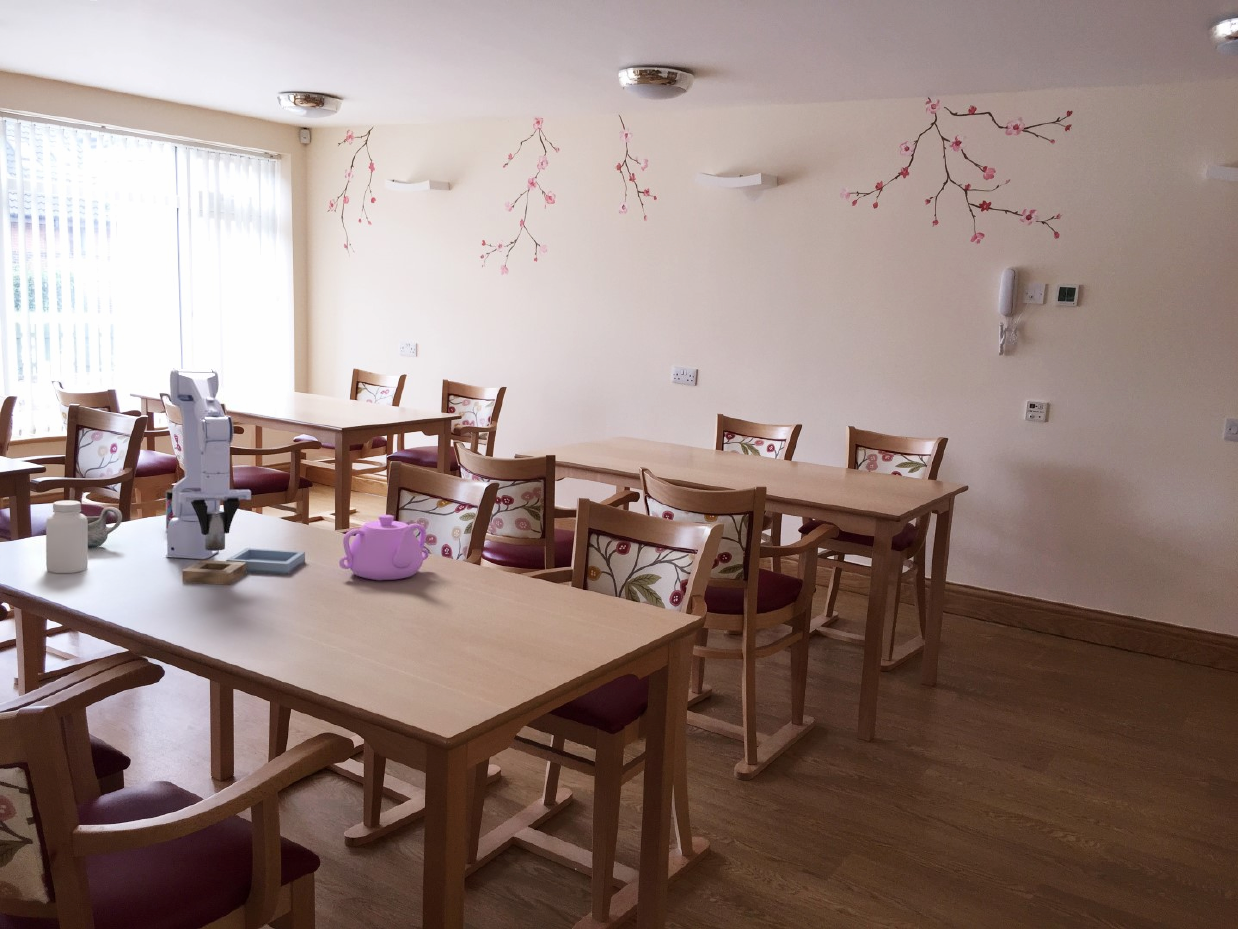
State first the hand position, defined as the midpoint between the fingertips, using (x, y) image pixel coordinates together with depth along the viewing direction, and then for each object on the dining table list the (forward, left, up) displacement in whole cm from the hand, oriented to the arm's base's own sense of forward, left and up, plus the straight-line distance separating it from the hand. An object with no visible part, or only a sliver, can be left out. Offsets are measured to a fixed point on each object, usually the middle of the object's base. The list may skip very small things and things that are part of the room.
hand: (215, 533), depth 219 cm
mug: (-37, +19, -10) cm, 43 cm away
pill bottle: (-32, -1, -10) cm, 34 cm away
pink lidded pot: (+36, +10, -10) cm, 39 cm away
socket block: (0, 0, -10) cm, 10 cm away
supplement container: (-27, +43, -10) cm, 52 cm away
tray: (+7, +12, -10) cm, 17 cm away
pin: (0, 0, -3) cm, 3 cm away
